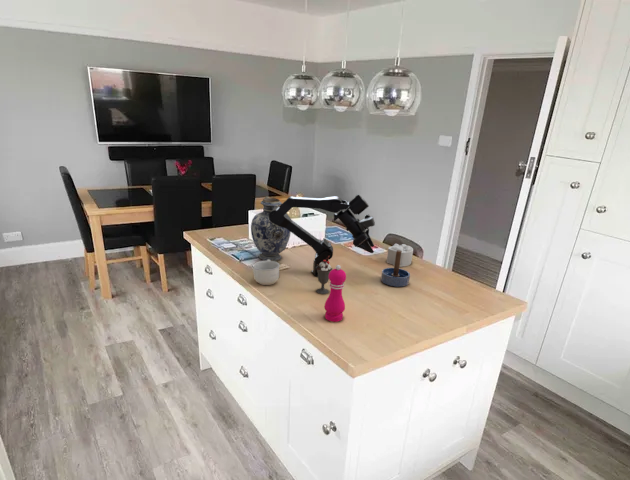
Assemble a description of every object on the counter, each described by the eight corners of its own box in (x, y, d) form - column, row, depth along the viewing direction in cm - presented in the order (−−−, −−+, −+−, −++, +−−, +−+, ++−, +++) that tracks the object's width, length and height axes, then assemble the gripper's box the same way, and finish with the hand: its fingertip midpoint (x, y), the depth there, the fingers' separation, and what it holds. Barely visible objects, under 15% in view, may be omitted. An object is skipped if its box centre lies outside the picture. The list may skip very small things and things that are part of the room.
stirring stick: (396, 283, 181) (401, 252, 176) (389, 281, 183) (393, 250, 177) (400, 281, 184) (404, 250, 178) (392, 278, 186) (397, 248, 180)
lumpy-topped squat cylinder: (383, 261, 208) (385, 244, 205) (400, 257, 216) (402, 241, 213) (399, 267, 201) (402, 250, 198) (416, 263, 209) (419, 246, 206)
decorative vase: (295, 263, 196) (298, 204, 185) (257, 266, 189) (257, 205, 178) (282, 249, 214) (283, 194, 202) (246, 251, 207) (246, 194, 195)
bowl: (388, 288, 177) (389, 278, 175) (376, 277, 187) (377, 268, 185) (413, 286, 180) (415, 277, 179) (400, 276, 191) (402, 267, 189)
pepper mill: (322, 313, 151) (326, 261, 143) (342, 313, 152) (347, 261, 144) (324, 322, 145) (328, 268, 136) (345, 322, 145) (350, 269, 137)
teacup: (274, 289, 168) (274, 270, 164) (248, 285, 169) (248, 266, 166) (284, 277, 180) (284, 259, 177) (260, 273, 182) (260, 256, 179)
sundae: (332, 290, 171) (335, 255, 165) (327, 296, 165) (330, 260, 159) (317, 287, 173) (319, 252, 166) (311, 292, 167) (314, 257, 161)
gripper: (364, 214, 165) (388, 244, 169) (365, 205, 182) (387, 232, 185) (342, 232, 169) (366, 260, 173) (346, 221, 186) (368, 247, 189)
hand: (373, 249), depth 180 cm, fingers open, 9 cm apart
